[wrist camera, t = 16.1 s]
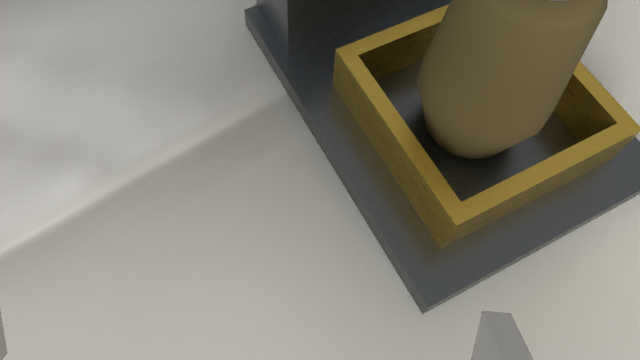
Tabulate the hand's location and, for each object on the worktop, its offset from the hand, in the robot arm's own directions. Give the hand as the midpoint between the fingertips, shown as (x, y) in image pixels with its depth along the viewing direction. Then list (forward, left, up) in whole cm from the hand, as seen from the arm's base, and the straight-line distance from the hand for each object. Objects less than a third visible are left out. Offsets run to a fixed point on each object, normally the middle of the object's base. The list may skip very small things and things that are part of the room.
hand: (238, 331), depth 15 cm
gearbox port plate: (-12, +19, -16) cm, 27 cm away
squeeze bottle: (-9, +19, -15) cm, 25 cm away
